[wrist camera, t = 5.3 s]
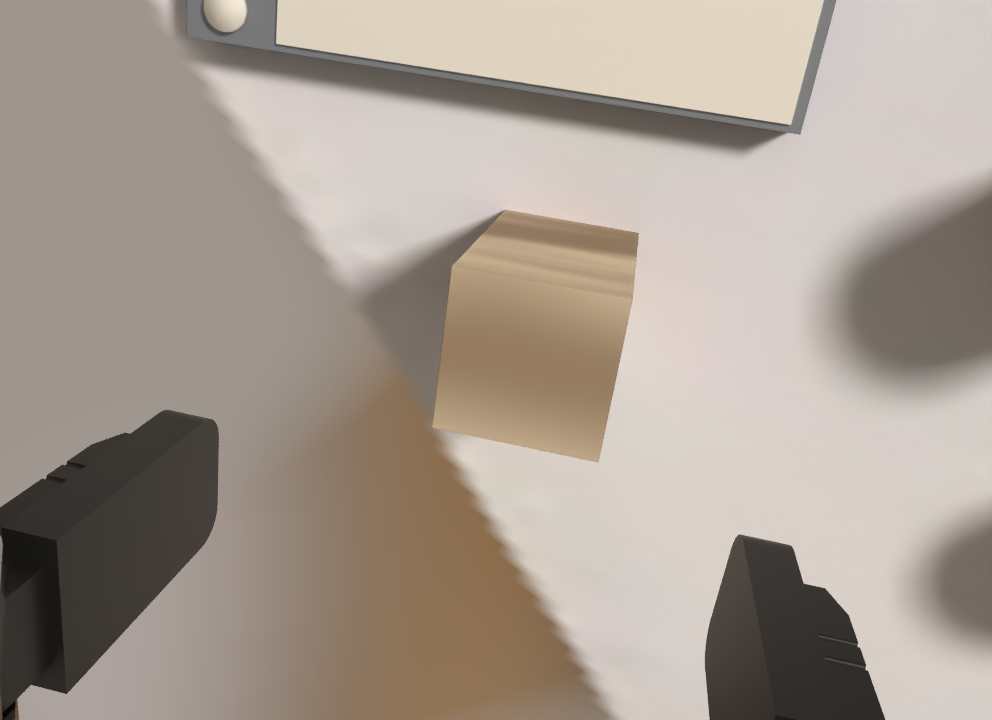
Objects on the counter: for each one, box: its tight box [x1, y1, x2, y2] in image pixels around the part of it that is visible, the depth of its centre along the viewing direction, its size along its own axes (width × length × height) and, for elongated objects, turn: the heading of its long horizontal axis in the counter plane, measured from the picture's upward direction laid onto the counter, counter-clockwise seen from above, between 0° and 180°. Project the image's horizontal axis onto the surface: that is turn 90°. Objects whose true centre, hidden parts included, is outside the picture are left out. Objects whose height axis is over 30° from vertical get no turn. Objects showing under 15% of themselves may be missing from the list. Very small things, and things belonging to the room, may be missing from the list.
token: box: [432, 210, 639, 462], centre depth 22 cm, size 4×4×7 cm
